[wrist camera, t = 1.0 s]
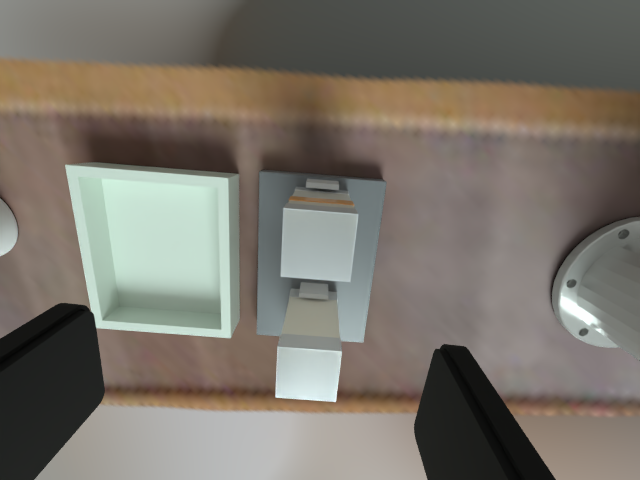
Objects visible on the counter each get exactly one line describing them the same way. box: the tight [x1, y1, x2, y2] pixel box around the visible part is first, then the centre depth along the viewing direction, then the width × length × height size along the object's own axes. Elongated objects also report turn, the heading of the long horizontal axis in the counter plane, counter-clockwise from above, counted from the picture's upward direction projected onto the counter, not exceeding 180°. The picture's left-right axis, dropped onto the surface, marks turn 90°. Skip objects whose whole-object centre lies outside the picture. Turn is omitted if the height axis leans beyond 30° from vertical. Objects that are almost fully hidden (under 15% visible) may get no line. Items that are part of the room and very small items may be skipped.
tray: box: [65, 162, 240, 338], centre depth 26 cm, size 12×14×3 cm
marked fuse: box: [281, 187, 358, 282], centre depth 21 cm, size 4×4×8 cm
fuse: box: [276, 289, 342, 402], centre depth 24 cm, size 4×4×8 cm
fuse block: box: [257, 170, 386, 342], centre depth 26 cm, size 10×15×4 cm, turn 176°
